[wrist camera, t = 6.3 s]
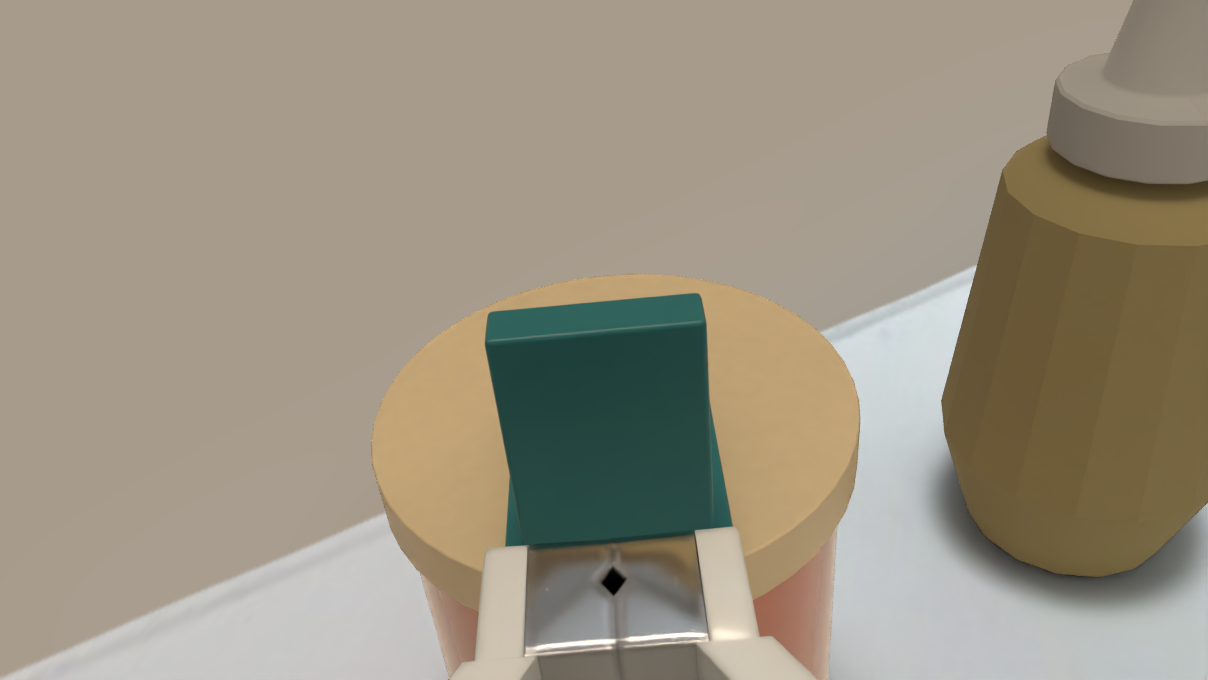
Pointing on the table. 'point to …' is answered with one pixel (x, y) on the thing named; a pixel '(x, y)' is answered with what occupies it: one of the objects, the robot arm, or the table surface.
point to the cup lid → (739, 408)
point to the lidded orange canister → (783, 612)
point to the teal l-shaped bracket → (606, 419)
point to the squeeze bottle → (1095, 313)
